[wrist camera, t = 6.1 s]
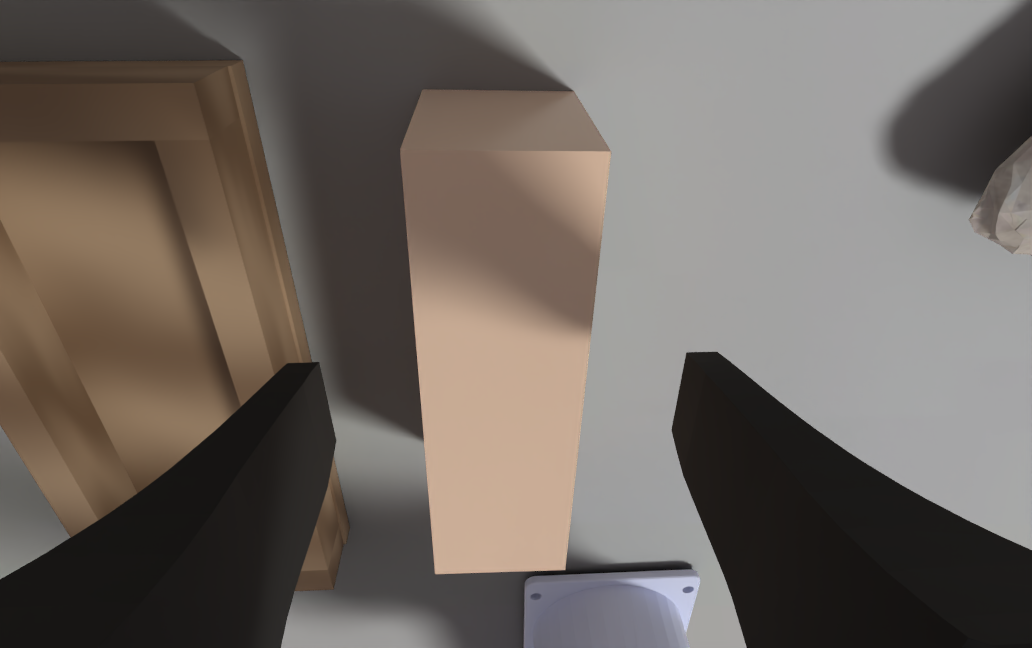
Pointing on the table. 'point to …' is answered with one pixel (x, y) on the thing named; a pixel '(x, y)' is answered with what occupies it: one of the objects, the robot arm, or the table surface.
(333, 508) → the wooden tray
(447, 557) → the tan rectangular block
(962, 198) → the table surface
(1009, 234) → the stone tool
